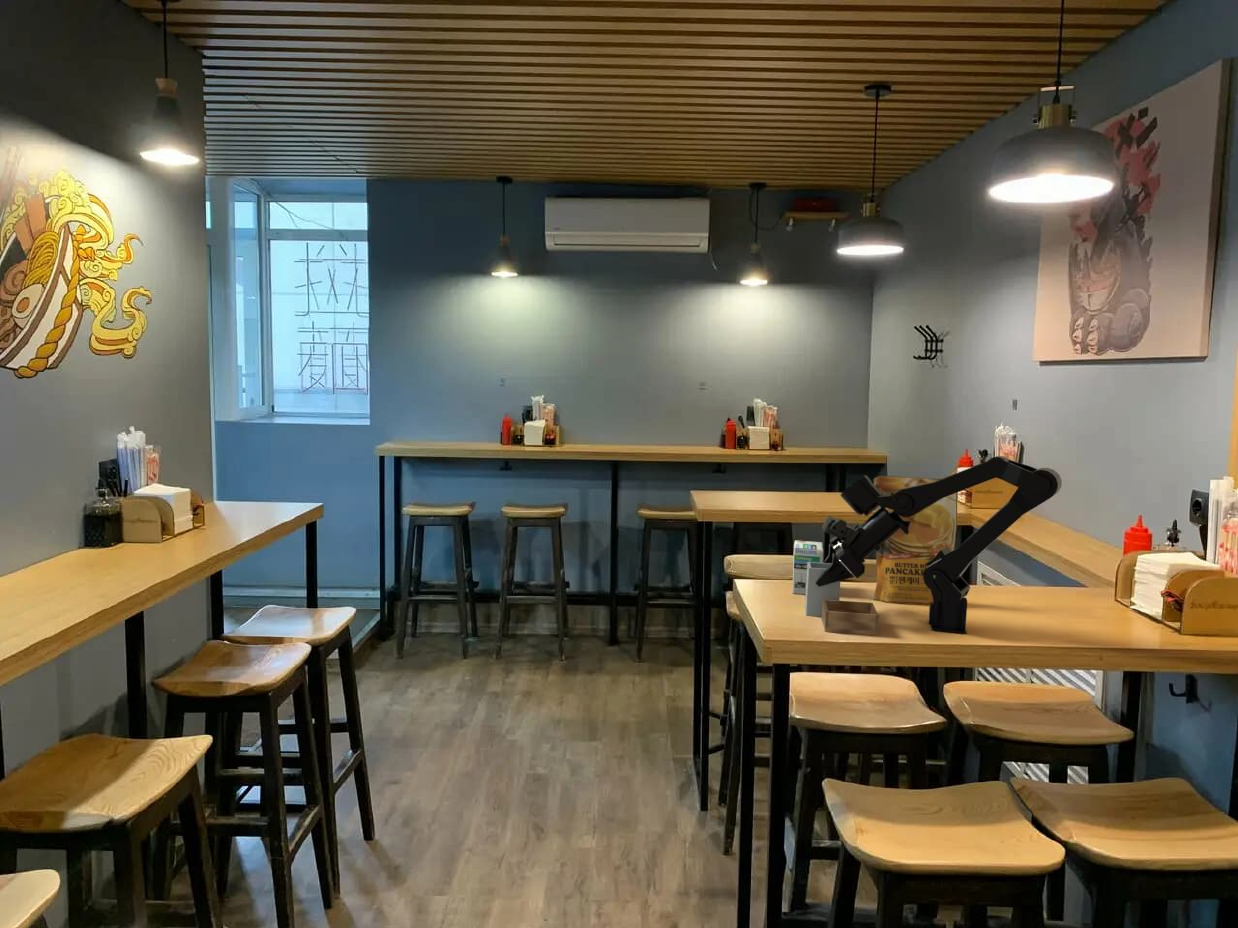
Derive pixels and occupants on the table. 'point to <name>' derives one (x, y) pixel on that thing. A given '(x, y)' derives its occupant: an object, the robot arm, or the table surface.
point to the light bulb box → (804, 562)
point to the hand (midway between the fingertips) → (816, 581)
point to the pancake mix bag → (913, 545)
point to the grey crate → (818, 589)
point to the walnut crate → (849, 617)
